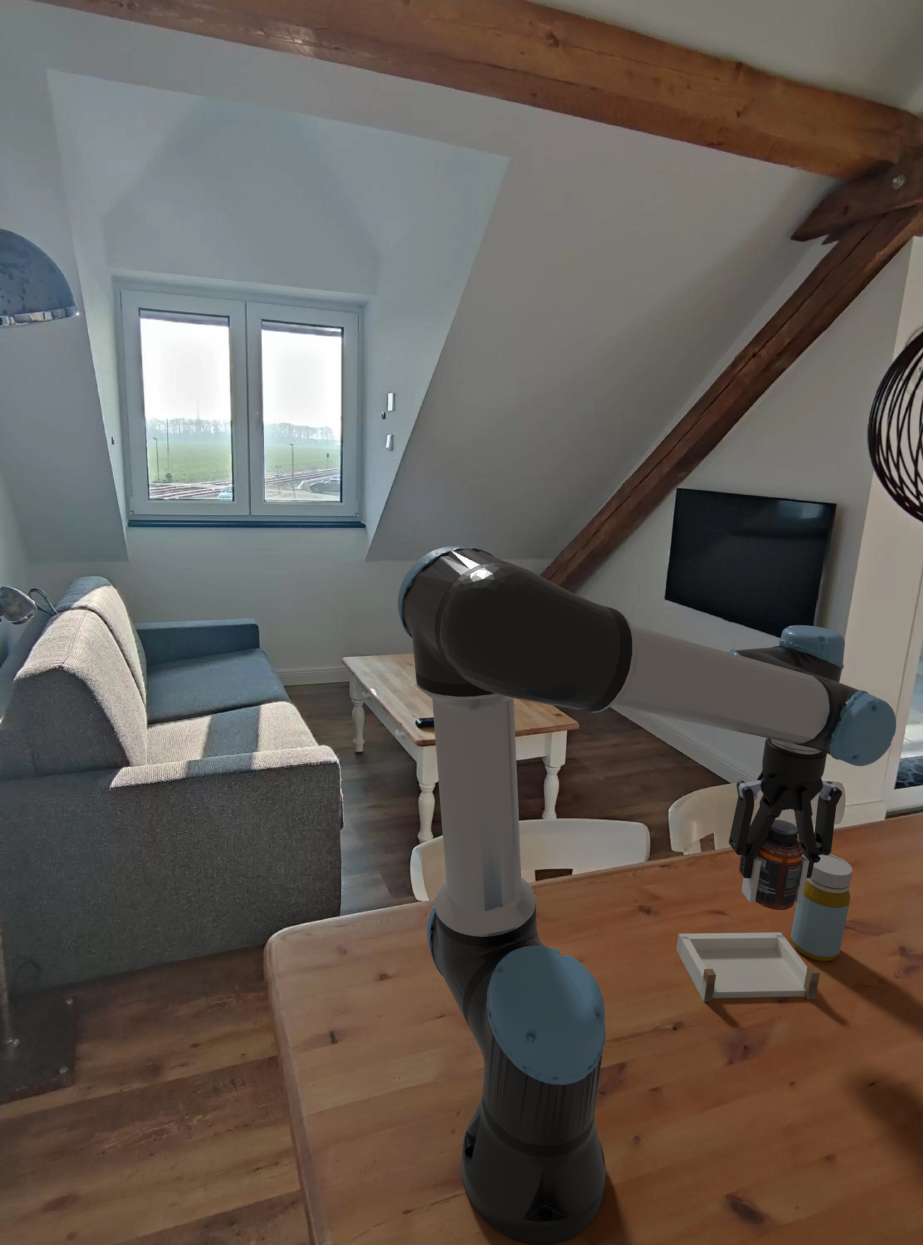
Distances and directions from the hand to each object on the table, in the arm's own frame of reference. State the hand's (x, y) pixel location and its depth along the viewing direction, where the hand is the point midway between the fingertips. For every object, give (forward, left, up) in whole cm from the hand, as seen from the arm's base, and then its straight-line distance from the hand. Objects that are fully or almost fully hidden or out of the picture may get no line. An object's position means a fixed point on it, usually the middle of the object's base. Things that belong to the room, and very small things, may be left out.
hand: (771, 896), depth 103 cm
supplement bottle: (0, 0, -1) cm, 1 cm away
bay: (+2, +2, -15) cm, 16 cm away
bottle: (+16, -4, -15) cm, 22 cm away
